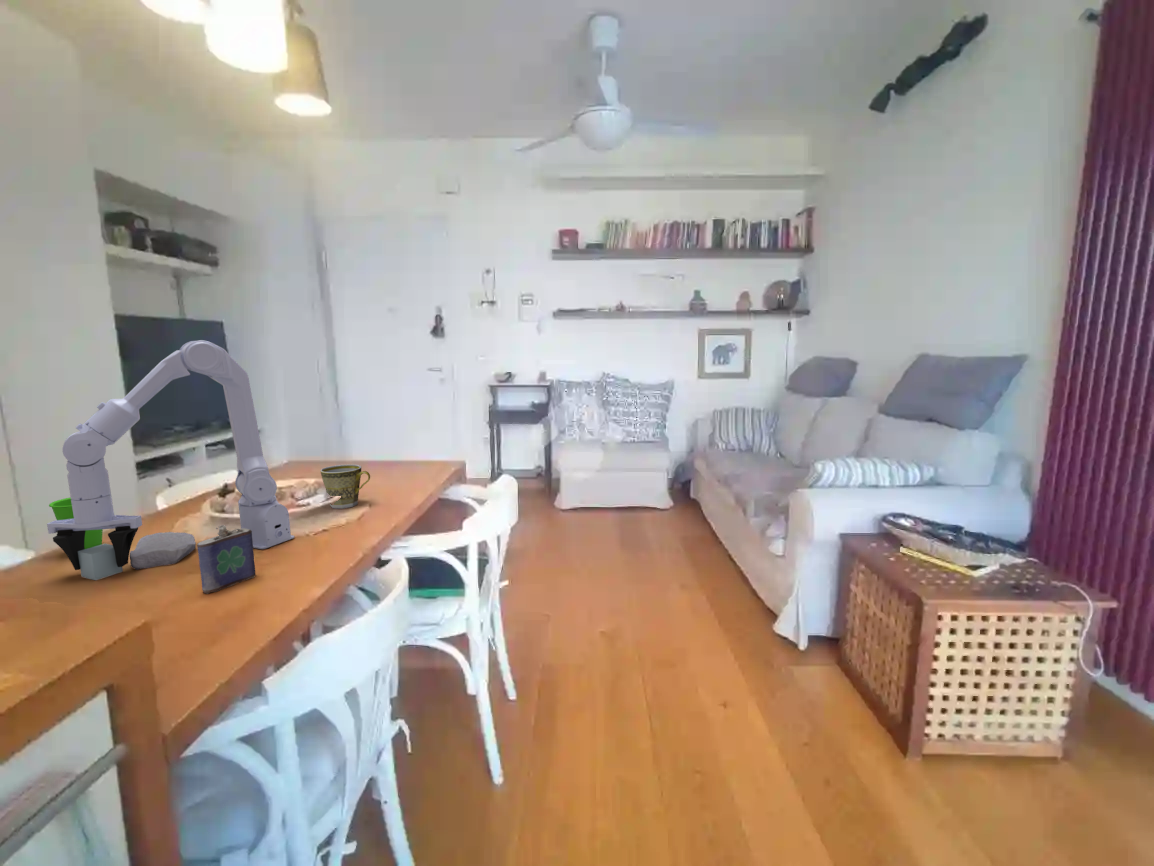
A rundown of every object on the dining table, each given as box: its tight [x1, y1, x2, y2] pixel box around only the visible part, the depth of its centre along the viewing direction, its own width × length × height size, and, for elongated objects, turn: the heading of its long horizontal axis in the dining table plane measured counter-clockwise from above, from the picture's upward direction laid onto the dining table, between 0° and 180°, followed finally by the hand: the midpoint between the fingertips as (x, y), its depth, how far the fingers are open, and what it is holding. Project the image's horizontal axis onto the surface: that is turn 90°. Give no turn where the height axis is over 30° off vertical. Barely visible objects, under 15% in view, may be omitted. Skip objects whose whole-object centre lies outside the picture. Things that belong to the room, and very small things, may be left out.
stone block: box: [129, 531, 197, 571], centre depth 117 cm, size 12×5×10 cm
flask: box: [196, 524, 257, 595], centre depth 102 cm, size 9×3×11 cm, turn 151°
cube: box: [78, 543, 124, 581], centre depth 108 cm, size 4×4×5 cm
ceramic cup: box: [320, 463, 371, 510], centre depth 152 cm, size 13×10×10 cm
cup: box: [48, 497, 104, 549], centre depth 120 cm, size 9×9×11 cm
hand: (101, 566), depth 108 cm, fingers open, 6 cm apart
